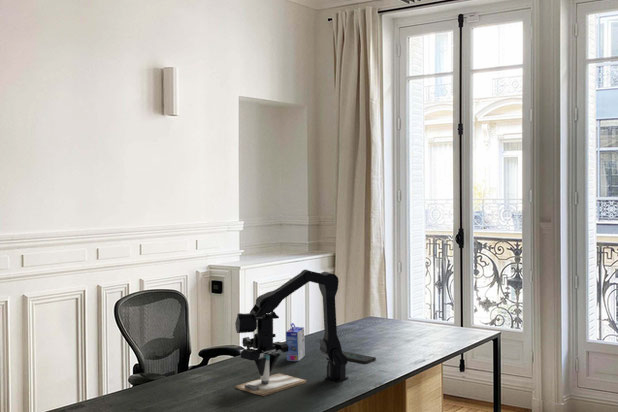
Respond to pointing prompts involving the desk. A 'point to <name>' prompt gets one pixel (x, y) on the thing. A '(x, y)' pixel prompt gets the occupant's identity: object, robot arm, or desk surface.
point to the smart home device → (359, 358)
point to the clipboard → (271, 384)
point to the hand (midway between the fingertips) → (265, 374)
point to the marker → (266, 370)
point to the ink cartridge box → (295, 343)
